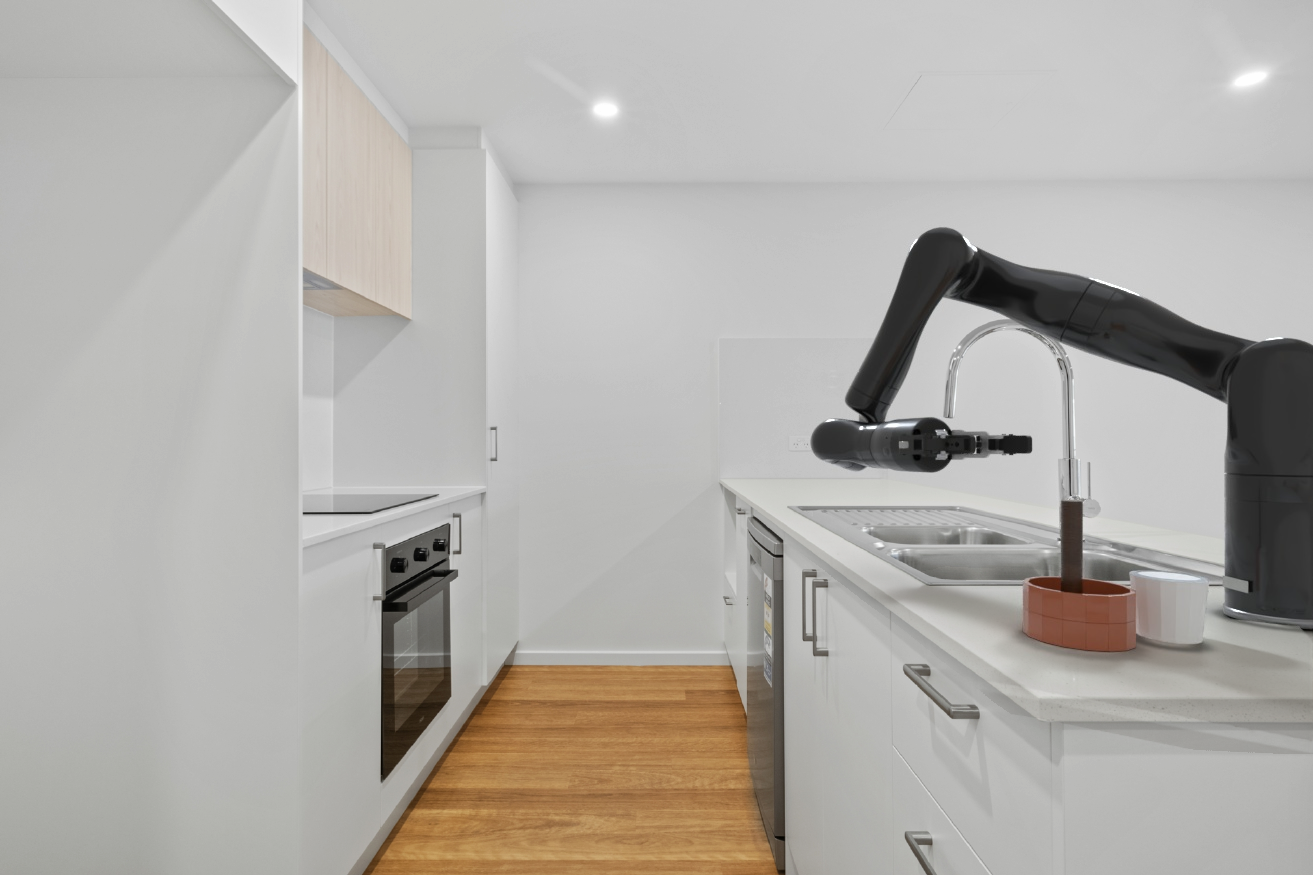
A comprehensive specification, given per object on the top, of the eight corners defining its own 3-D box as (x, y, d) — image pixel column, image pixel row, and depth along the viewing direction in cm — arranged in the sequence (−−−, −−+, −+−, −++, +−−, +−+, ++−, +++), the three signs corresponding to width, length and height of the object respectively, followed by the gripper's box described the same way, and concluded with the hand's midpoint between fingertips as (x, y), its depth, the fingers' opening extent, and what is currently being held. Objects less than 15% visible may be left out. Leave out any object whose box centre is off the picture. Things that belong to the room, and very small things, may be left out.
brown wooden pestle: (1057, 629, 75) (1057, 498, 75) (1091, 635, 73) (1092, 500, 73) (1050, 635, 73) (1051, 500, 73) (1086, 641, 71) (1086, 502, 71)
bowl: (1029, 625, 79) (1029, 572, 79) (1136, 639, 74) (1136, 583, 74) (1017, 645, 71) (1017, 587, 71) (1135, 664, 65) (1135, 600, 65)
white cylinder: (1199, 637, 75) (1198, 572, 75) (1219, 654, 68) (1219, 583, 69) (1123, 629, 78) (1123, 567, 78) (1136, 645, 71) (1135, 577, 71)
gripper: (867, 417, 95) (953, 411, 80) (951, 418, 100) (1048, 413, 84) (867, 472, 95) (953, 477, 80) (951, 471, 100) (1048, 475, 84)
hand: (1002, 444), depth 82 cm, fingers open, 8 cm apart
